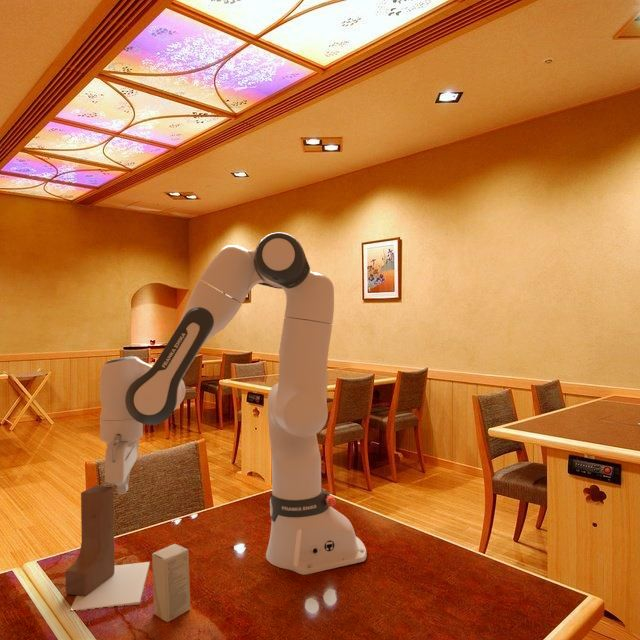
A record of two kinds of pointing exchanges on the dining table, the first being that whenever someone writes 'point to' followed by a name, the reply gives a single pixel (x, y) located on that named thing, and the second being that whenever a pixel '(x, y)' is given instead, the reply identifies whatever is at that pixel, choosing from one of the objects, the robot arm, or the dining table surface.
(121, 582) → the mat
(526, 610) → the dining table surface
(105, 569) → the wooden block
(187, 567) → the box
